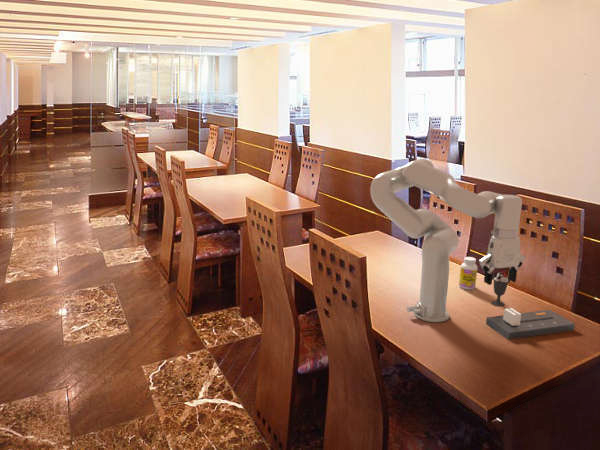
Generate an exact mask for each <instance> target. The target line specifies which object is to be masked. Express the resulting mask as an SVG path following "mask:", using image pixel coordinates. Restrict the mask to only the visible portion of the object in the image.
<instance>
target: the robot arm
mask: <svg viewBox="0 0 600 450" xmlns="http://www.w3.org/2000/svg"><path fill="white" fill-rule="evenodd" d="M412 187H416V188H418V189H421V190H423V191H425V192H427V193H430V194H432V195H433V196H436V197H438V198H439V199H441V200H442V201H443V202H444V203H446V204H447V205H448V206H449V207H451V208H452V209H454V210H456V211H458V212H460V213H463V214H465V215H467V216H469V217H472V218H475V219H483V218H486V217H487V216H489V215H492V214H494V215H495V216H494V221H493V230H491V231H490V233H491V237H490V240H489V243H488V248H487V252H486V255H485V256H483V257H482V258H481V259H478V260H479V261H478V262H479V265H480V268H481V269H482V270H483V272H484V277H483V282H484V283H485V284H487V285H489V286H491V285H492V284H493V280H492V278H493V277H494V275H493V274H494V273H493V272H494V270H495V269H508V273H507V274H508V275H507V278H508V279H509V280H510V282H513V283H516V281H517V275H518V274H517V273H518V271H519V270H520V268H521V267H522V266H523V263H524V261H525V259H526V257H525V256H524V255H523V254H521V251H522V250H521V238H520V237H519V229H520V221H521V213H522V205H523V199H522V197H520V196H518V195H515V194H502V193H498V192H493V191H489V190H485V191H482V192H479V193H475V192H473V191H470V190H468V189H466V188H464V187H462V186H460V185H459V184H458V183H457V182H456V180H455V177H454V176H453V175H451V174H450V173H447V172H446V171H444V170H441V169H438V168H436V167H435V164H433V162H432V161H431V160H428V159H426V158H418V159H415V160H412V161H410V162H408V163H407V164H405V165H403V166H401V167H397V168H394V169H391V170H388V171H384V172H381V173H379V174H377V175H376V176H375V177H374V178H373V179H372V182H371V183H370V188H369V189H370V190H369V192H370V194H369V195H370V197H371V200H372V203H373V204H374V206H376V208H377V209H378V210H379V211H381V212H382V214H384V215H385V216H386V217H387V218H388V219H390V221H392V223H394V224H395V225H396V226H397V227H398V228H399V229H400V230H402V232H403V233H404V234H406V235H407V236H408V237H409V238H411V239H419V238H420V239H421V238H422V237H425V238H424V240H423V242H422V244H421V261H422V262H421V276H420V277H421V279H420V290H419V299H418V300H419V301H417V302H416V304H414V305H413V306H412V305H409V306H406V311H407V313H410V312H412V313H413V314H414V316H415V317H416V318H418V319H420V320H422V321H425V322H429V323H442V322H447V321H448V320H449V319H450V313H449V311H448V310H447V309H446V308H447V298H448V297H447V296H448V289H449V287H448V286H449V278H450V277H449V276H450V255H451V253H453V252H454V251H455V250H456V249H457V248H458V247H459V243H460V237H459V236H458V233H457V232H456V230H454V229H453V228H452V227H451V226H450V225H449V224H448V223H447V222H446V221H444V220H443V219H442V218H441V217H439V216H438V215H437V214H436V213H435V212H433V211H432V210H431V209H428V208H418V209H414V207H412V206H411V205H410V204H409V203H407V201H406V200H404V199H403V198H401V197H399V196H398V195H396V194H397V193H399V192H401V191H404V190H407V189H409V188H412Z"/></svg>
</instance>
